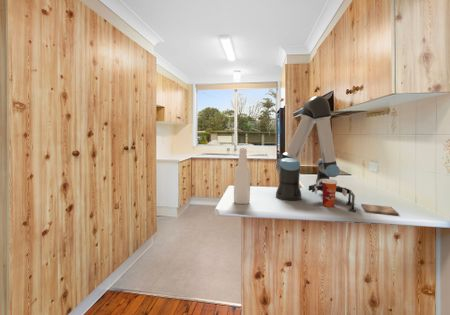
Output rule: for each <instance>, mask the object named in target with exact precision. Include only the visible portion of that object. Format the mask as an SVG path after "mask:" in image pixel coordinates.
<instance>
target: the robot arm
mask: <svg viewBox="0 0 450 315" xmlns="http://www.w3.org/2000/svg"><path fill="white" fill-rule="evenodd" d="M329 103H330V102H329V101H328V99H327V98H326V97H325V96H322V95H317V96H313V97H311V98H310V99H308V100H306V102H305V103H304V104H303V106H302V112H301V113H300V118H301V119H300V122H299V124H298V125H297V128H296V129H295V132H294V134H293V136H292V139H291V140H290V142H289V144H288V147H287V149H286V152H283V153H282V154H281V156H280V158H279V160H278V161H277V163H276V166H275V167H276V171H277V173H278V174H279V180H278V182H279V184H278V186H277V189H276V192H275V197H276V198H278V199H279V200H280V199H281V200H284V201H299V200H302V191H301V189H300V188H301V187H300V174H301V171H300V169H301V162H300V158H299V157H300V155H301V153H302V151H303V149H304V147H305V145H306V142H307V140H308V138H309V136H310V134H311V132H312V129H313V128H314V125H315V124H316V130H317V136H318V142H319V148H320V154H321V158H319V159H318V163H317V174H316V180H315V183H314V184H311V185H308V191H311V193H315V194H318V191H321V192H322V193H323V183H322V181H323V179H331V178H336V177H338V176H339V175H340V171H341V169H340V167H339V166H338V164H337V158H336V154H335V153H336V152H335V147H334V139H333V132H332V126H331V118H332V113H331V112H332V111H331V107H330V104H329ZM349 190H350V189H349V188H347V187H342V186H340V185H336V193H339V194H340V193H341V194H342V195H343V196H344V197H347V195H349Z"/></svg>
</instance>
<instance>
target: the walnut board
mask: <svg viewBox="0 0 450 315" xmlns="http://www.w3.org/2000/svg"><path fill="white" fill-rule="evenodd" d="M360 207H362V209H363V211H364V212H365V213H369V214H370V213H371V214H379V215H389V216H399V214H400V213H399V212H397V210H395V209H394V208H393V207H392V206H389V205H388V206H386V205H379V204H378V205H377V204H376V205H375V204H366V203H361V205H360Z"/></svg>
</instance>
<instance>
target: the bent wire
mask: <svg viewBox="0 0 450 315" xmlns="http://www.w3.org/2000/svg"><path fill="white" fill-rule="evenodd" d="M355 197H356V196H355V194H354V192H353V191H352V190H351V189H349V194H348V197H347V198H348V200H347V201H345V205H346V206H350V207H348V211H349V212H352V213H357V209H356V207H355Z"/></svg>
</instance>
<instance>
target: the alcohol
mask: <svg viewBox="0 0 450 315" xmlns="http://www.w3.org/2000/svg"><path fill="white" fill-rule="evenodd" d="M238 152H239V154H238V163H237V165H236V167H235V168H234V173H233V174H234V177H233V178H234V179H233V203H234V204H237V205H247V204H249V203H250V202H251V201H250V198H251V168H250V166H249V165H248V159H247V158H248V156H247V152H248V151H247V148H246V147H240V148H239V151H238Z"/></svg>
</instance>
